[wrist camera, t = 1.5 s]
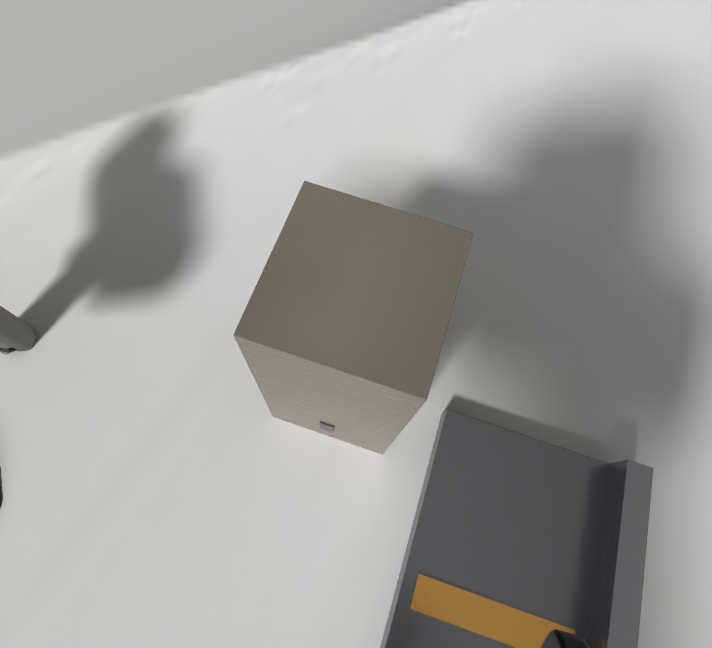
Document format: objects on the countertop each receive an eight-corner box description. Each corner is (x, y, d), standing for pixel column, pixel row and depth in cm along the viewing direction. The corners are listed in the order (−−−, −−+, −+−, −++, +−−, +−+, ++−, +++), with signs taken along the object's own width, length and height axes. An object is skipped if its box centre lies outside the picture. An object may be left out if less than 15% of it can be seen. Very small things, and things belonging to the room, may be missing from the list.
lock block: (382, 455, 21) (426, 401, 12) (272, 417, 21) (232, 336, 12) (414, 349, 23) (473, 231, 14) (313, 316, 23) (304, 179, 14)
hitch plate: (570, 896, 16) (610, 956, 14) (339, 804, 17) (341, 847, 14) (619, 474, 21) (653, 468, 19) (441, 414, 22) (454, 401, 20)
